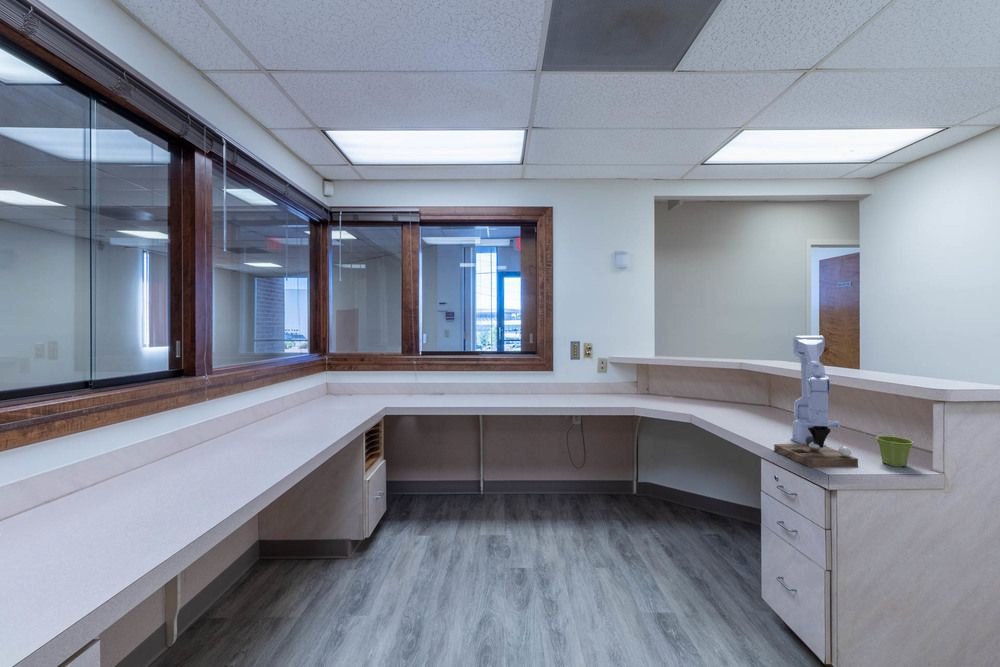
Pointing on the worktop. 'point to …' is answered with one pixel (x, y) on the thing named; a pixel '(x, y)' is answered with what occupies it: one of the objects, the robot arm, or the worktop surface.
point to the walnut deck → (815, 455)
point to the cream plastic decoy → (844, 451)
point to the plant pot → (894, 450)
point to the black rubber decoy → (809, 439)
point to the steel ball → (814, 446)
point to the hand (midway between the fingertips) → (818, 447)
